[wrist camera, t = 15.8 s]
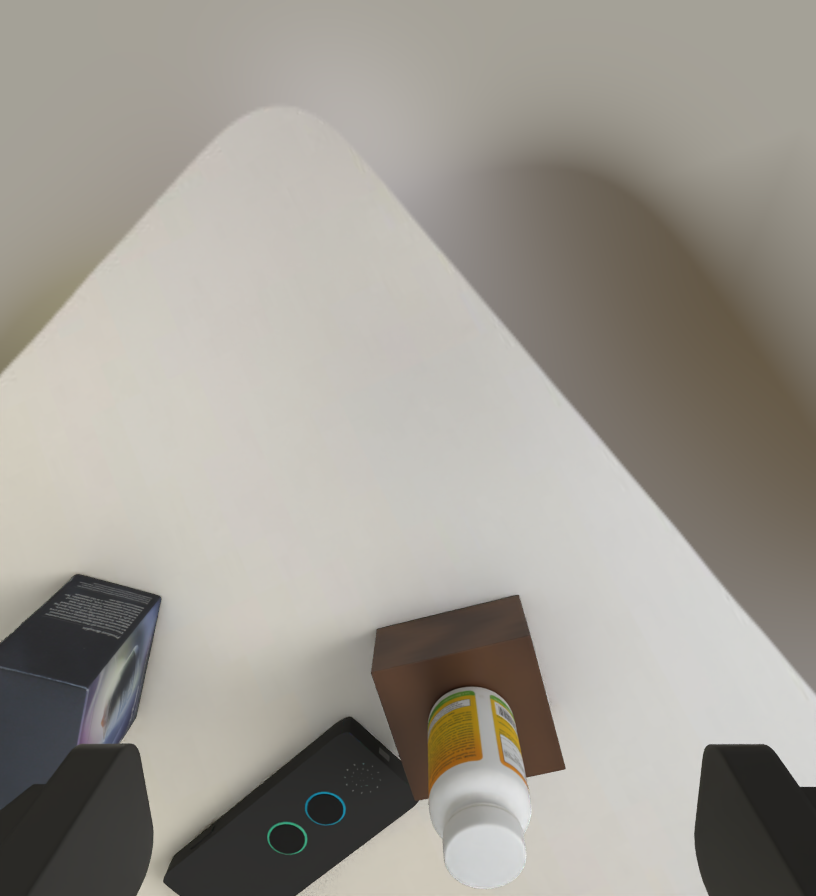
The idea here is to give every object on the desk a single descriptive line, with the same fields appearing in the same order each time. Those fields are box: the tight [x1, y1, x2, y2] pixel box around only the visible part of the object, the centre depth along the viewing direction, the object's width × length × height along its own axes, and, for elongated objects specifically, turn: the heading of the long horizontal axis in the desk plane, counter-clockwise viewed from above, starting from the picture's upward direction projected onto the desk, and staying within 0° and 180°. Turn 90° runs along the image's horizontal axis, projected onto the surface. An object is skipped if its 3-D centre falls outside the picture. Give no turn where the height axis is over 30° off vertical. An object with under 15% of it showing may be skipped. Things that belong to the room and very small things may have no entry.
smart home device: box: [163, 718, 419, 896], centre depth 48 cm, size 8×2×20 cm
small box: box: [0, 574, 161, 810], centre depth 40 cm, size 11×6×10 cm, turn 164°
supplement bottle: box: [428, 687, 531, 889], centre depth 35 cm, size 5×5×10 cm
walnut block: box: [371, 595, 565, 801], centre depth 42 cm, size 10×10×5 cm
